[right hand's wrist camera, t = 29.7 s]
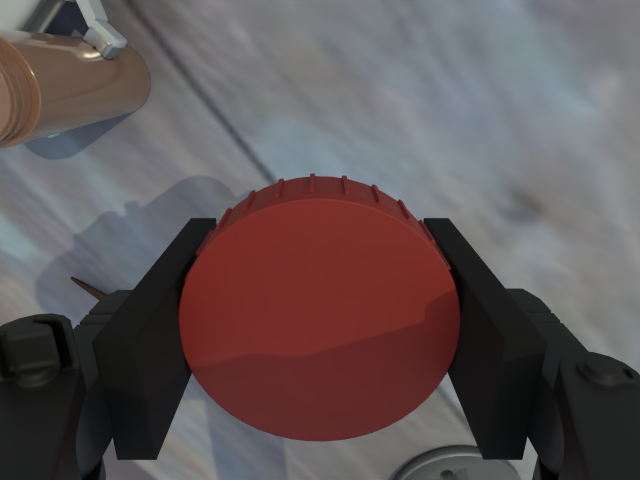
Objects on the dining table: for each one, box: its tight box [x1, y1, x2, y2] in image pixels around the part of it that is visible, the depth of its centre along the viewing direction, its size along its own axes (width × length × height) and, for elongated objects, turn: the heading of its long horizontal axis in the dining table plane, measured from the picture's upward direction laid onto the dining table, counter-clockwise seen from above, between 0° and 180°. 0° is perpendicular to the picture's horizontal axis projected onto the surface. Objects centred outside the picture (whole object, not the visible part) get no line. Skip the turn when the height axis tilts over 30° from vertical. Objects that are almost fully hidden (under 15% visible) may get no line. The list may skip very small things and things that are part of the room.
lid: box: [179, 174, 461, 441], centre depth 11 cm, size 6×7×2 cm
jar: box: [0, 29, 150, 148], centre depth 28 cm, size 6×6×17 cm
